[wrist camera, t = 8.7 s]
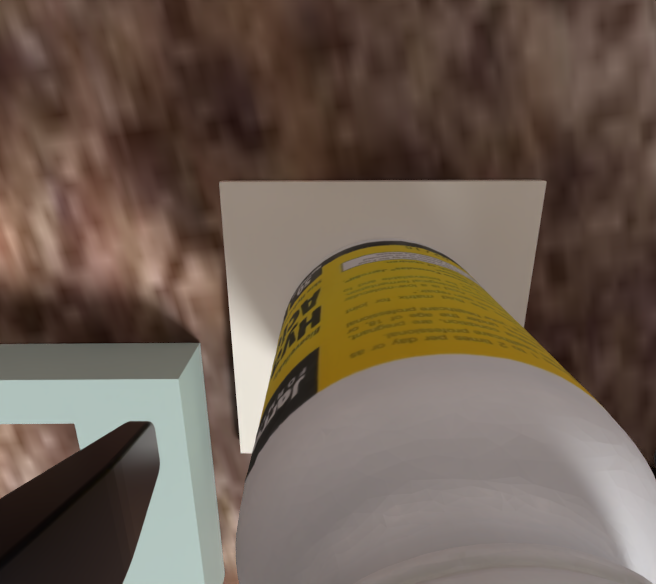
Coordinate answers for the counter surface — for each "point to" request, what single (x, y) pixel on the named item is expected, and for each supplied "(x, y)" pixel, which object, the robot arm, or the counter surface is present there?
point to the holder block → (123, 406)
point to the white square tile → (355, 226)
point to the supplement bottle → (432, 442)
